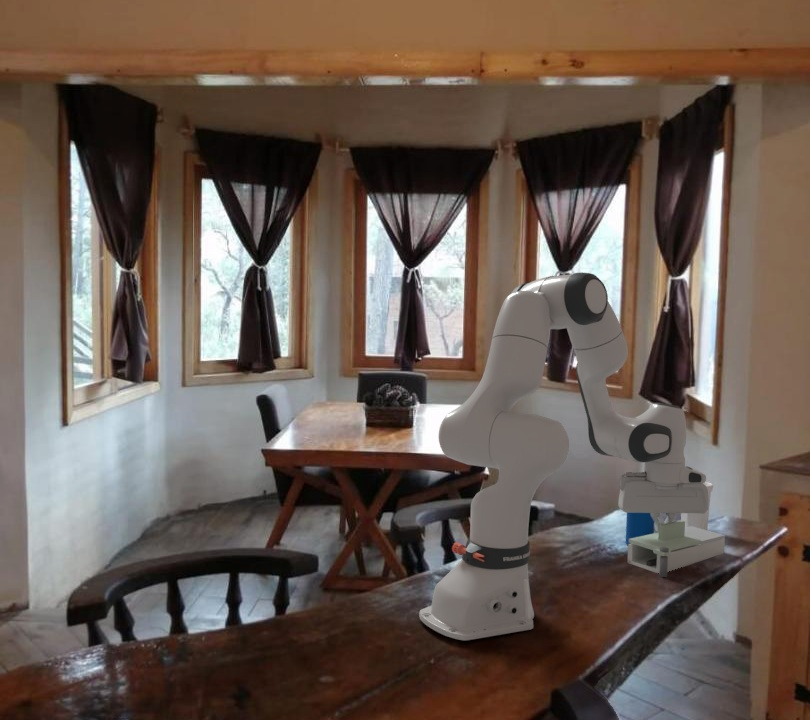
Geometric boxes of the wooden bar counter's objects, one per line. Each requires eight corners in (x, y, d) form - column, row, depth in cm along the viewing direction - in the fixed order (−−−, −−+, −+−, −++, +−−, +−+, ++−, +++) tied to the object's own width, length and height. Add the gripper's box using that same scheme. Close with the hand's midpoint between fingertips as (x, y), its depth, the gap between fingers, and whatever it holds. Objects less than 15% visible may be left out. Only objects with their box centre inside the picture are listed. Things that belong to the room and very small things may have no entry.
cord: (650, 566, 166) (650, 562, 166) (646, 565, 167) (646, 560, 167) (710, 550, 179) (710, 546, 179) (706, 549, 180) (707, 545, 180)
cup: (687, 531, 198) (689, 478, 197) (716, 538, 192) (719, 483, 191) (671, 536, 193) (673, 482, 192) (700, 544, 186) (703, 487, 186)
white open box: (664, 578, 161) (665, 554, 160) (623, 563, 170) (624, 541, 169) (730, 558, 175) (732, 537, 175) (690, 546, 184) (691, 526, 184)
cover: (664, 556, 160) (665, 537, 160) (624, 543, 169) (624, 524, 169) (707, 545, 169) (708, 527, 169) (667, 533, 178) (667, 515, 178)
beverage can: (658, 549, 181) (660, 500, 181) (639, 552, 178) (641, 503, 178) (639, 542, 187) (641, 495, 186) (619, 545, 184) (621, 497, 183)
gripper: (624, 474, 169) (621, 534, 170) (713, 476, 169) (710, 535, 170) (615, 469, 175) (613, 526, 176) (701, 470, 176) (698, 527, 177)
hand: (661, 531), depth 173 cm, fingers closed
